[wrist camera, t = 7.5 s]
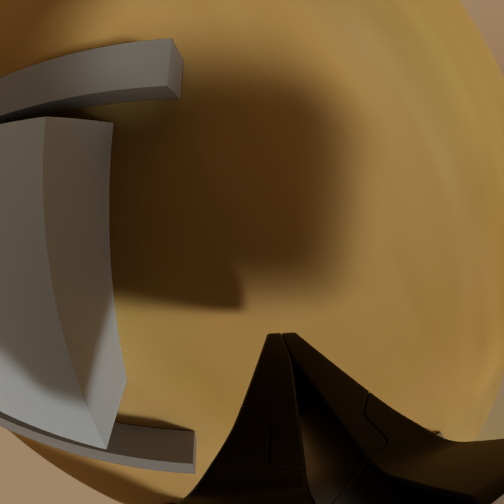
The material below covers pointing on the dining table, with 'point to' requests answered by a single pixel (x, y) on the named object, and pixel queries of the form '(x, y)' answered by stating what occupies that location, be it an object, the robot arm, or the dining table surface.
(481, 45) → the dining table surface
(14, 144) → the carton
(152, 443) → the display bay
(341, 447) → the robot arm
